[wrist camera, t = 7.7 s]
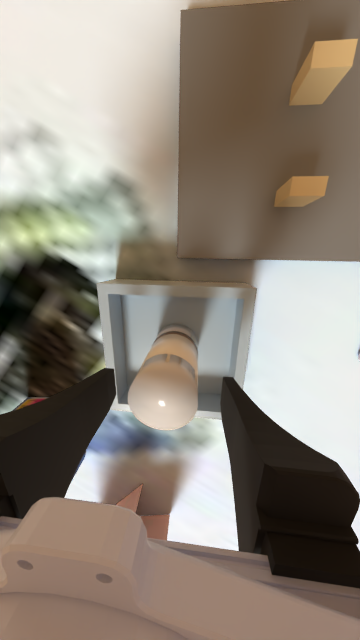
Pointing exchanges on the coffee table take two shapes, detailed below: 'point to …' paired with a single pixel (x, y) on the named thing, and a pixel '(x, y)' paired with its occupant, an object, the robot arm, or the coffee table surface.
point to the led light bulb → (167, 380)
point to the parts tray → (177, 308)
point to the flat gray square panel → (270, 131)
